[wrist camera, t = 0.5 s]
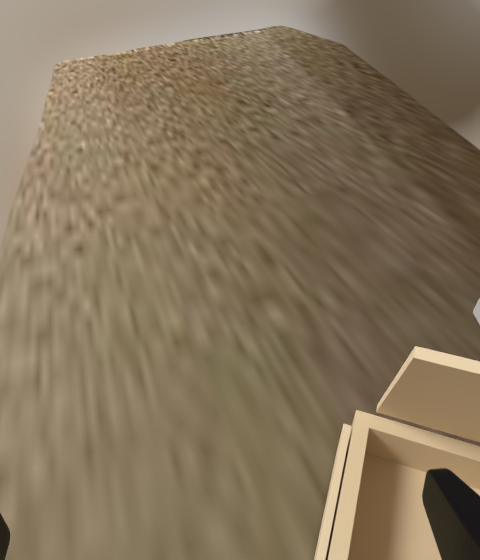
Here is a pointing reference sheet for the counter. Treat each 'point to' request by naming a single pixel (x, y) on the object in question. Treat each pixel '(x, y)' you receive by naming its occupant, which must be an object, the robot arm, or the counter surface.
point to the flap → (436, 393)
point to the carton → (387, 490)
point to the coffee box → (477, 311)
